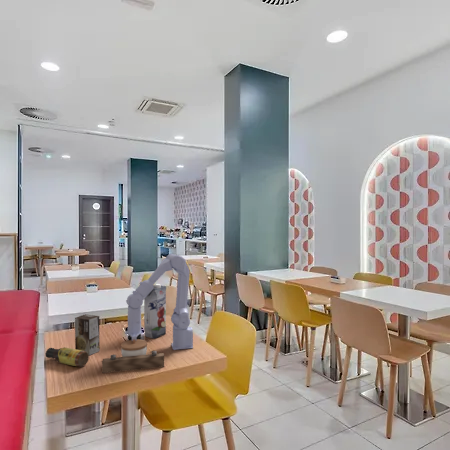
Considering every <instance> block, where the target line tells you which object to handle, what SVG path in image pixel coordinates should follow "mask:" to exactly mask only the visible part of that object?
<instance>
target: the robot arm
mask: <svg viewBox="0 0 450 450" xmlns="http://www.w3.org/2000/svg"><path fill="white" fill-rule="evenodd" d="M173 270H174V271H175V272H176V273H177V275H178V276H177V284H176V285H177V288H176V299H175V307H174V309H173V313H172V314H171V318H170V321H171V323H172V324H173V326H172V343H171V348H172V350H173V351H174V350H175V351H176V350H186V349H193V348H194V339H193V338H194V331H193V327H192V326H190V324H191V319H190V317H189V315H190V314H189V310H188V299H189V298H188V297H189V295H188V294H189V282H190V272H191V271H190V269H189V266H188V264H187V260H186V259H185V258H184V257H183V256H182V255H179V254H175V253H169V254H168V255H166V257H165V258H164V259H163V260H162V261H161V262H160V264H159V265H158V266H157V267H156V269H155V270H154V271H153V273H152V274H151V275H150V277H148V279H145V280H142V281H140V282H139V284H138V286H137V288H136V289H135V290H132V291H131V294H129V295H128V296H127V298H126V300H125V302H126V305H127V330H125V332H124V334H125V335H127V341H128V340H132V341H133V339H135V341H137V339H140V340H142V339H141V338H142V331H143V330H142V310H141V309H142V306H143V305H144V304H143V303H144V299H145V298H146V297H147V295H148V294H149V293H150V292H151V291H152V290H153V285H155V283H156V282H157V281H158V280H159V279H160V278H161V277H162V276H163V275H164V274H165V273H166V272H169V271H173Z"/></svg>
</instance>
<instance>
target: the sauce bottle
mask: <svg viewBox="0 0 450 450" xmlns="http://www.w3.org/2000/svg"><path fill="white" fill-rule="evenodd" d="M44 356H45V357H46V358H48V359H54V361H56V362H57V363H59V364H62V365H67V366H68V365H69V366H73V367H76V368H77V367H81V368H82V367H85V366H86V365H87V364H88V362H89V357H90V355H88V353H87V352H86V351H82V350H77V349H75V348H71V347H70V348H69V347H61V348H54V347H48V348H47V349H46V351H45V355H44Z"/></svg>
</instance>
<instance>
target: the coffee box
mask: <svg viewBox="0 0 450 450" xmlns="http://www.w3.org/2000/svg"><path fill="white" fill-rule="evenodd" d="M74 344H75V346H74V347H75V348H74V349H77V350H82V351H86V352H87V353H88V355H89V356H91V355H94V354H96V353H99V352H100V348H101V347H100V345H101V344H100V315H93V314H85V313H84V314H82V315H79V316H77V317H74Z"/></svg>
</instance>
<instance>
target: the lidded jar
mask: <svg viewBox="0 0 450 450" xmlns="http://www.w3.org/2000/svg"><path fill="white" fill-rule="evenodd" d="M120 348H121V351H120V353H121V357H127V356H137V355H147V350H148V342H147V340H145V339H137V341H135V339H133V341H132V340H128V339H127V340H126V341H123V342H122V343H121V344H120Z"/></svg>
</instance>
